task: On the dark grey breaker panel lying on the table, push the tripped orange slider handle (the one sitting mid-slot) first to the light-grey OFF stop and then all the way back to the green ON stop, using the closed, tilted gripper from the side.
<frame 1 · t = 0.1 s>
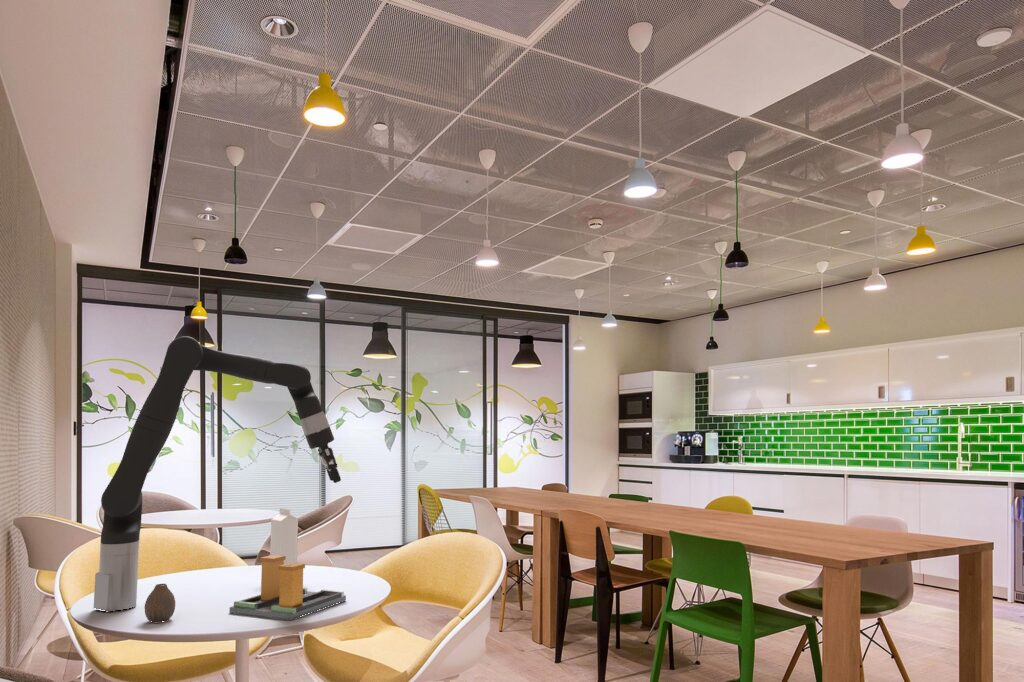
hand: (335, 480, 219), 31 cm above the table, tool tilted 20°, fingers open, 8 cm apart
vase: (159, 621, 183), on the table
handle: (272, 577, 199), point 7 cm above the table, slide at 0.0 cm
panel: (289, 606, 196), on the table
milk: (283, 581, 228), on the table
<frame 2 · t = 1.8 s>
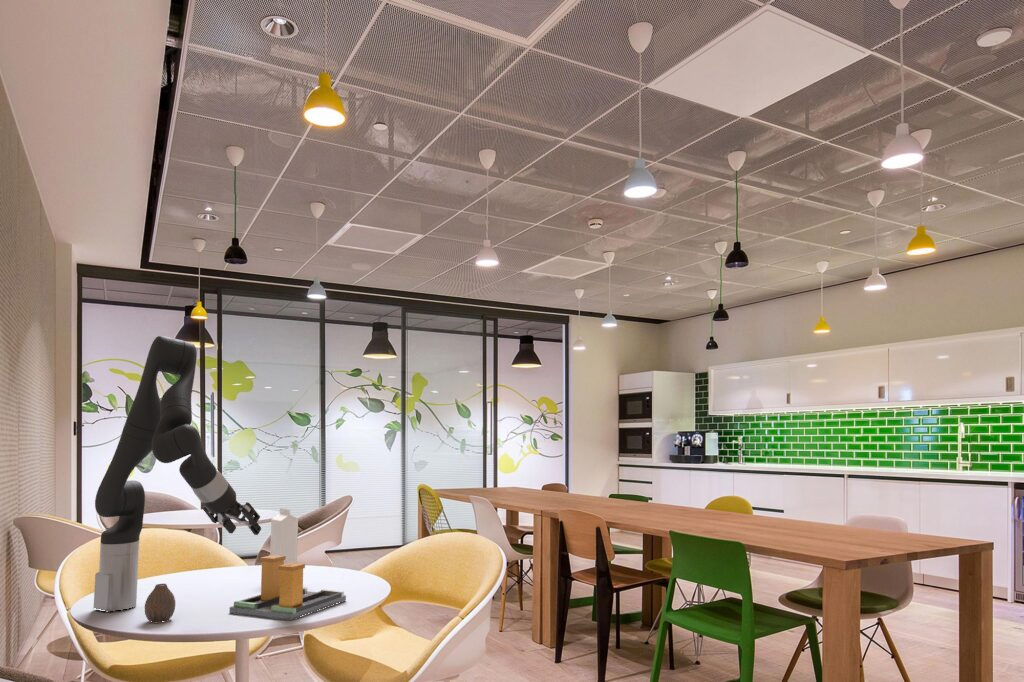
hand: (245, 531, 191), 21 cm above the table, tool tilted 45°, fingers open, 8 cm apart
nothing on the table moved.
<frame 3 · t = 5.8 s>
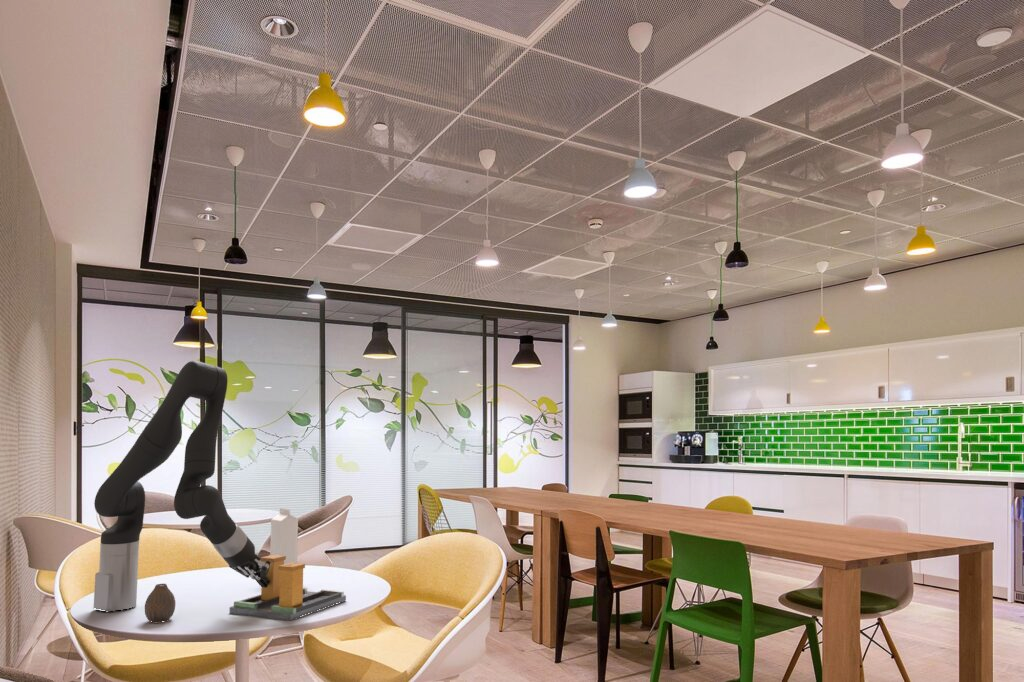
hand: (266, 584, 196), 6 cm above the table, tool tilted 45°, fingers closed
handle: (272, 577, 199), point 7 cm above the table, slide at 0.1 cm, touching gripper
everything else where it was.
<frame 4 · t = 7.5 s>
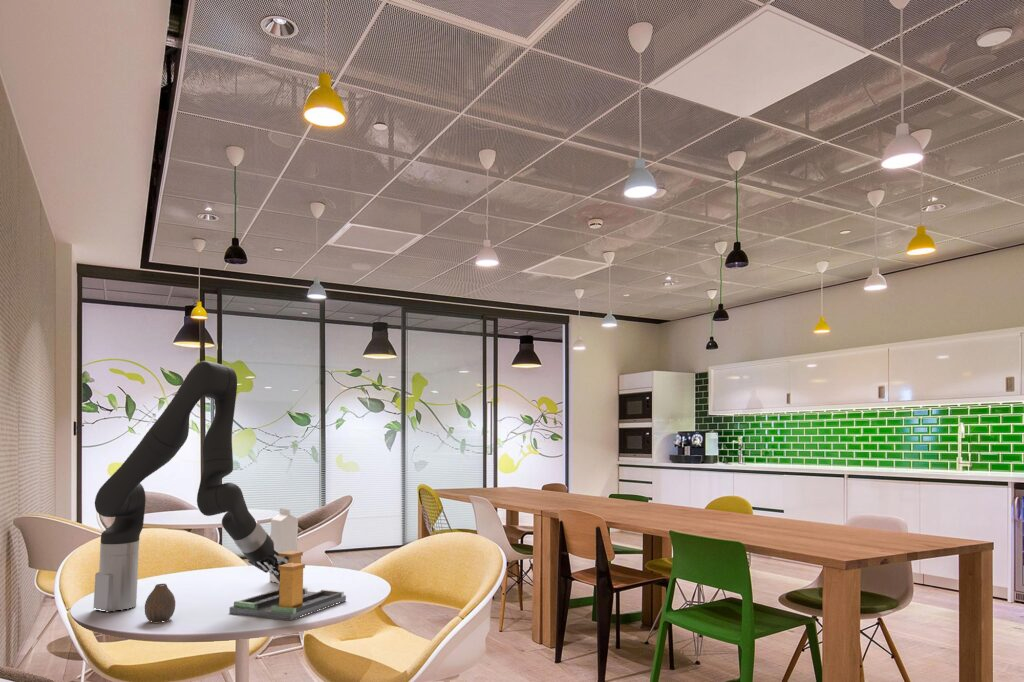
hand: (283, 579, 203), 6 cm above the table, tool tilted 45°, fingers closed
handle: (290, 572, 205), point 7 cm above the table, slide at 7.0 cm, touching gripper
everything else where it was.
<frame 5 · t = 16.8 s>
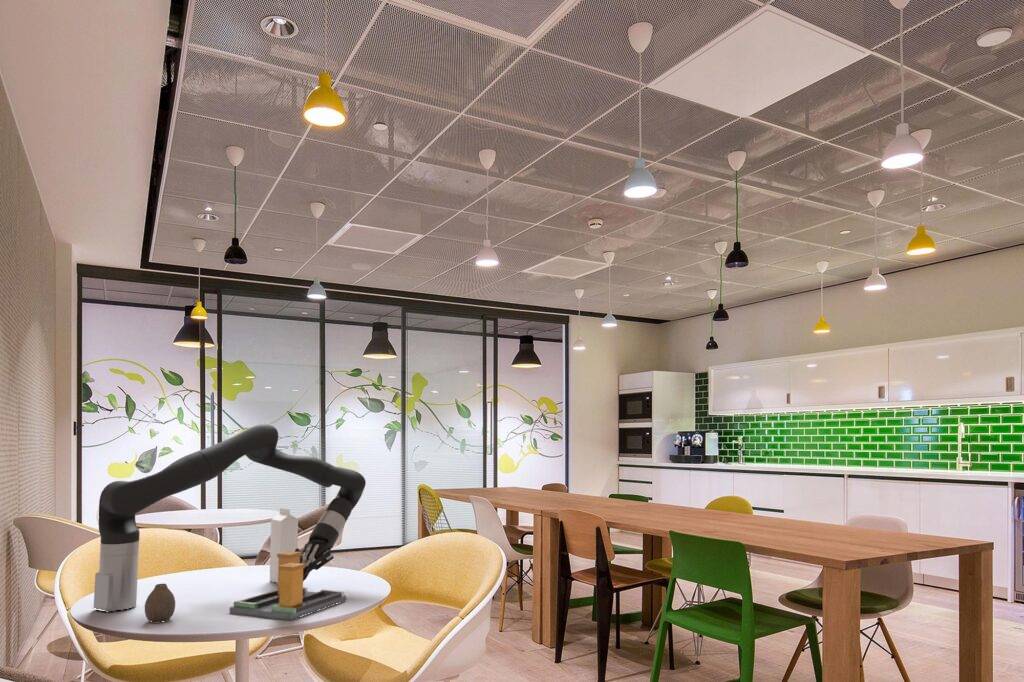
hand: (298, 580, 206), 5 cm above the table, tool tilted 45°, fingers closed
handle: (288, 573, 205), point 7 cm above the table, slide at 6.4 cm, touching gripper
everything else where it was.
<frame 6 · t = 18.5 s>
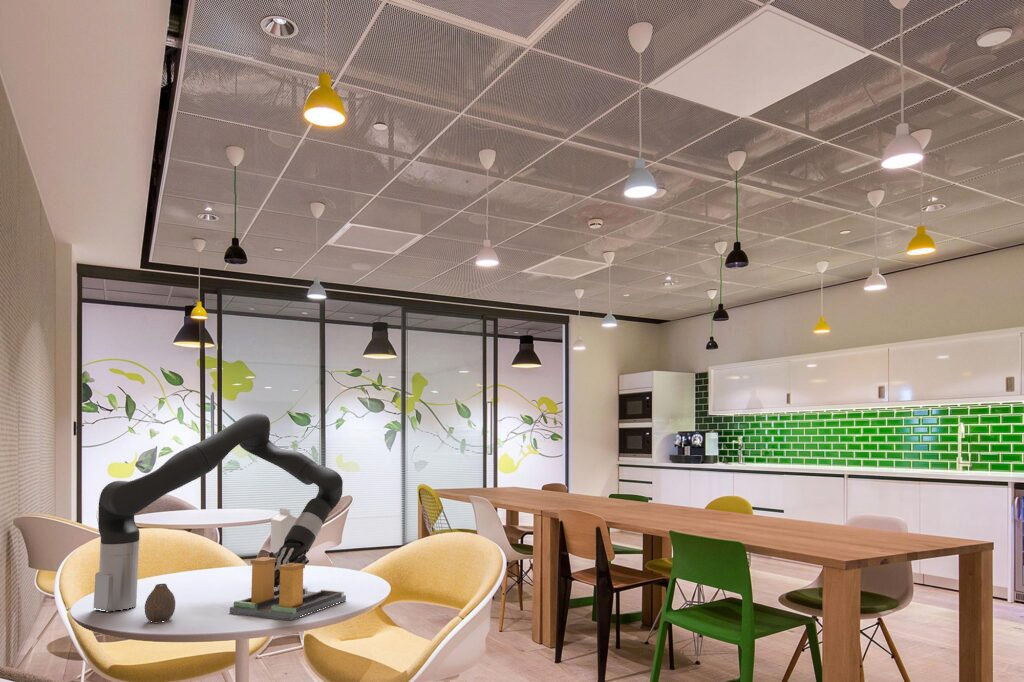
hand: (272, 585, 197), 5 cm above the table, tool tilted 45°, fingers closed
handle: (263, 580, 196), point 7 cm above the table, slide at -3.5 cm, touching gripper
everything else where it was.
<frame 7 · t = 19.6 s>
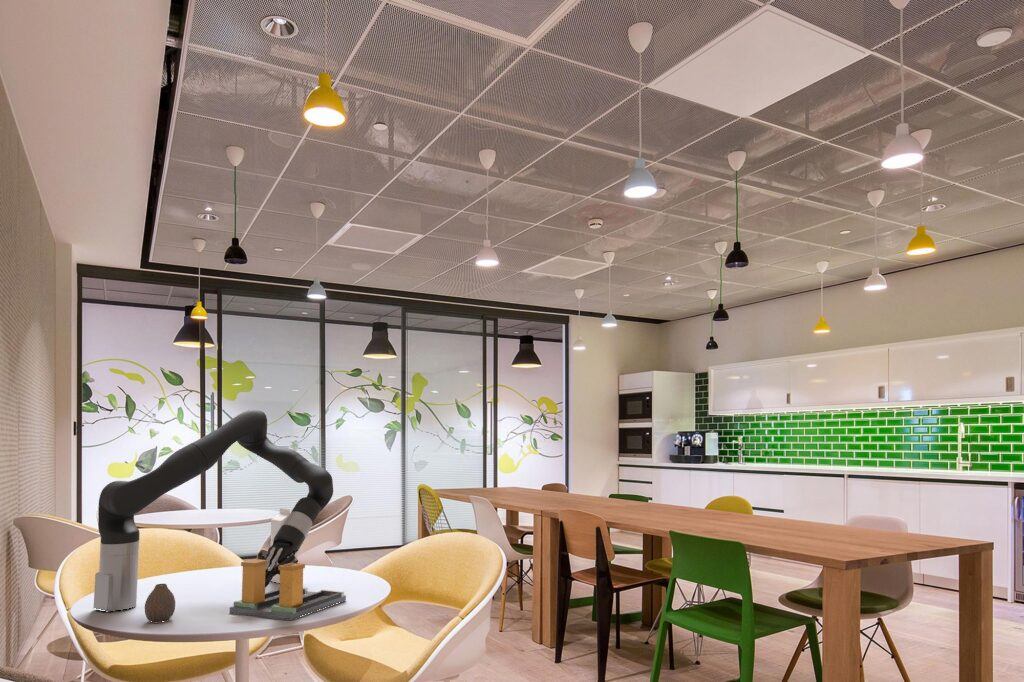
hand: (261, 585, 195), 6 cm above the table, tool tilted 45°, fingers closed
handle: (253, 582, 192), point 7 cm above the table, slide at -6.9 cm, touching gripper
everything else where it was.
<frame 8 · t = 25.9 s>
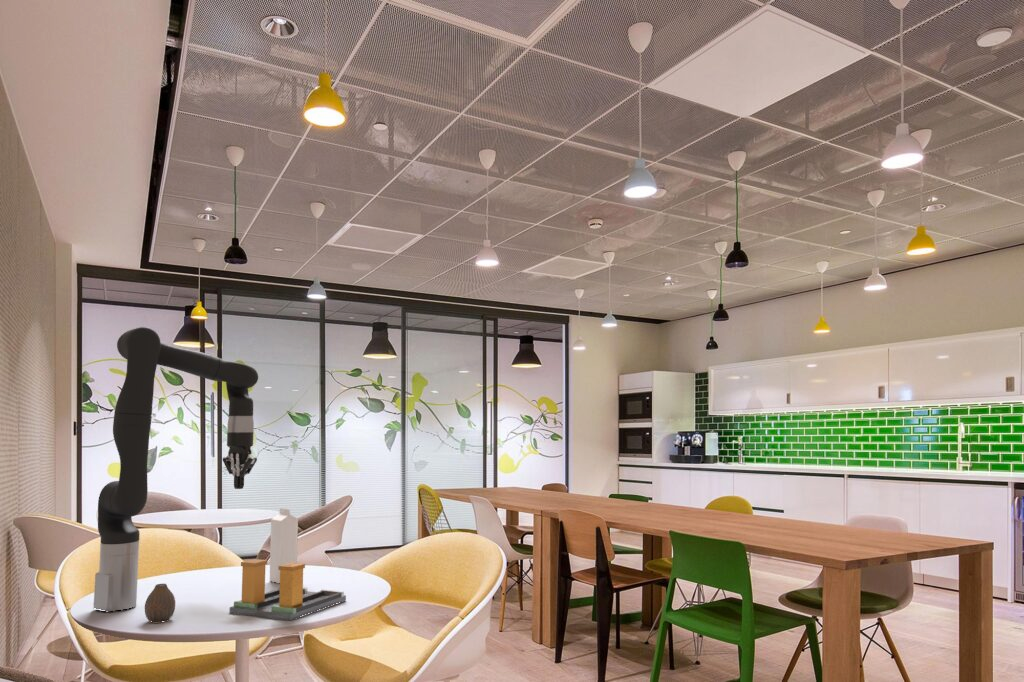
hand: (238, 488, 223), 29 cm above the table, tool pointing down, fingers closed
handle: (253, 582, 192), point 7 cm above the table, slide at -7.0 cm
everything else where it was.
at the end: handle slide at -7.0 cm; the gripper is holding nothing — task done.
